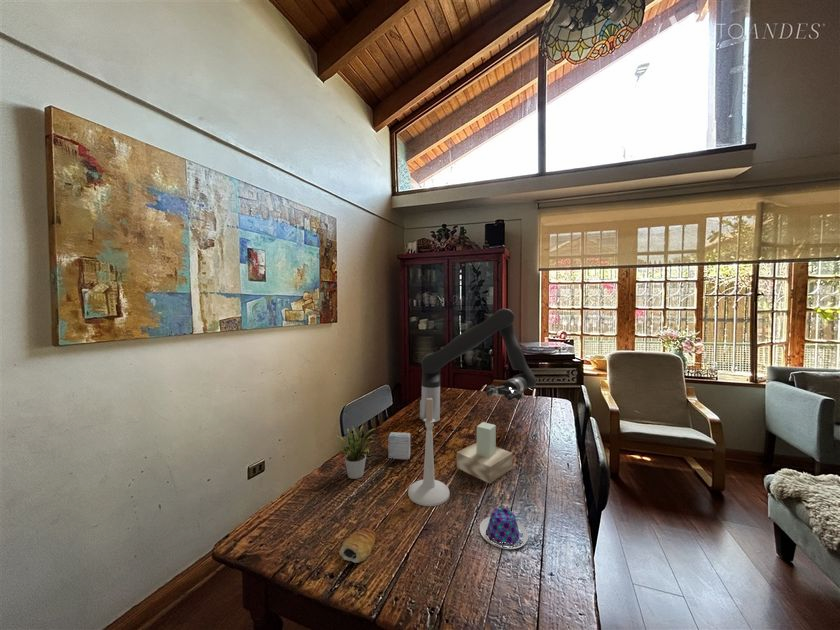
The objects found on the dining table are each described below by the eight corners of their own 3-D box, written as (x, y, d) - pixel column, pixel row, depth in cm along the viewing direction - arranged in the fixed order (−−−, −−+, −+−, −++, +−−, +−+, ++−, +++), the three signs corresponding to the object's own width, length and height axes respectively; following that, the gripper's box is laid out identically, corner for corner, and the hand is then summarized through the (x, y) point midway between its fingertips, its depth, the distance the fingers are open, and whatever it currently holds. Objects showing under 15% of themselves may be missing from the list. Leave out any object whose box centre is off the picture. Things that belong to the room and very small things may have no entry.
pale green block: (476, 454, 113) (476, 426, 112) (482, 448, 117) (482, 421, 116) (489, 458, 110) (490, 429, 109) (495, 452, 114) (495, 425, 113)
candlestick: (419, 511, 90) (420, 406, 89) (401, 487, 102) (401, 394, 100) (457, 498, 96) (458, 400, 95) (436, 478, 107) (436, 389, 106)
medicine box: (410, 454, 124) (410, 432, 124) (409, 460, 120) (409, 437, 119) (390, 453, 125) (390, 431, 124) (388, 459, 120) (388, 436, 120)
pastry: (359, 532, 82) (359, 517, 82) (382, 539, 80) (383, 524, 79) (336, 558, 74) (337, 542, 73) (361, 568, 71) (362, 551, 71)
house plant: (388, 469, 112) (388, 424, 112) (365, 490, 100) (365, 439, 99) (354, 461, 118) (354, 417, 118) (329, 479, 106) (329, 431, 105)
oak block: (456, 468, 114) (456, 452, 114) (479, 455, 124) (479, 440, 124) (489, 484, 104) (490, 466, 104) (512, 469, 114) (512, 453, 114)
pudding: (535, 552, 76) (535, 530, 76) (484, 552, 76) (485, 530, 76) (519, 518, 88) (519, 499, 88) (475, 518, 88) (475, 499, 88)
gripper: (497, 376, 143) (481, 383, 130) (529, 382, 135) (516, 390, 122) (496, 393, 144) (481, 401, 131) (528, 399, 135) (515, 409, 122)
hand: (498, 396), depth 126 cm, fingers open, 8 cm apart
